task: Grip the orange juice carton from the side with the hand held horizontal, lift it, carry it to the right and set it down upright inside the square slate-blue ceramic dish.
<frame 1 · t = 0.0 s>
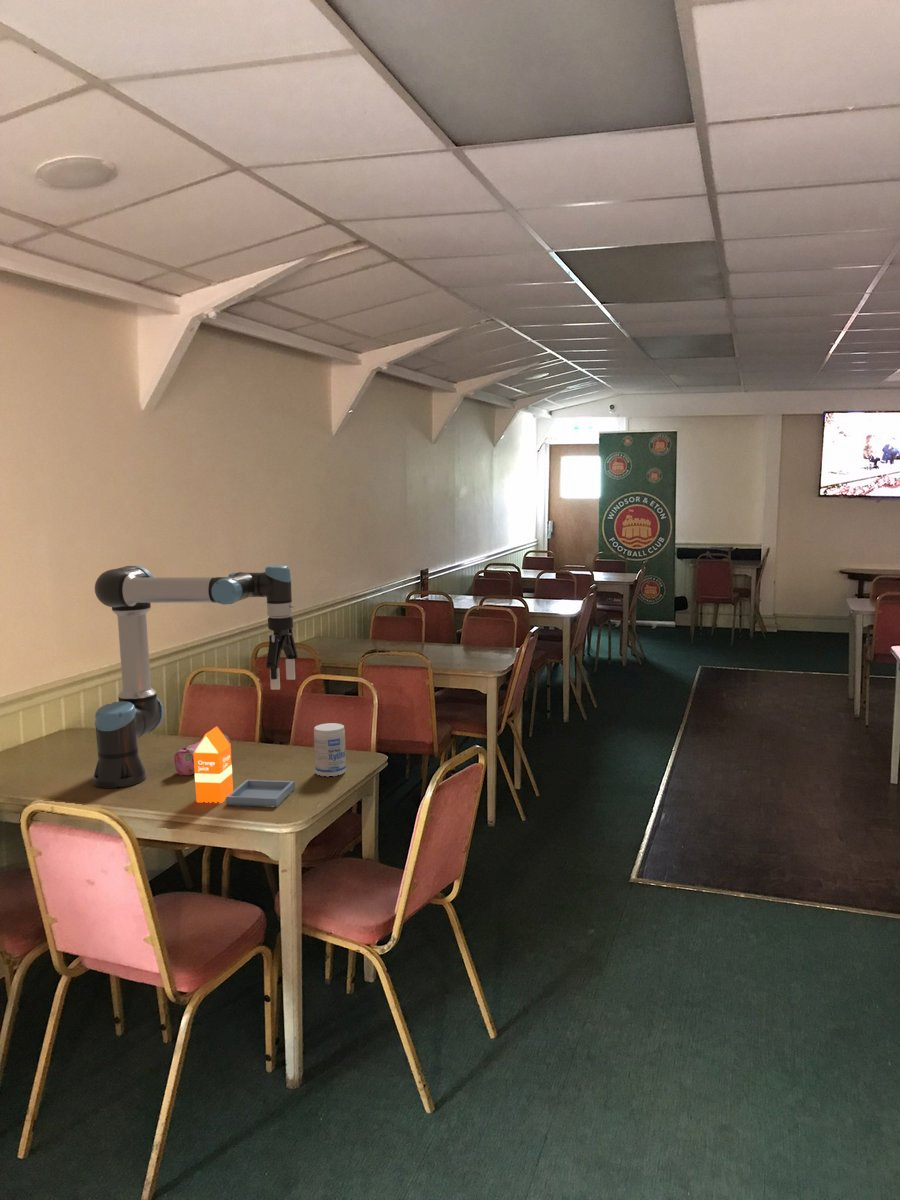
hand: (283, 684, 284), 28 cm above the table, tool pointing down, fingers open, 13 cm apart
orange juice: (215, 798, 266), on the table
supplement tub: (330, 773, 286), on the table
pencil case: (203, 767, 295), on the table
dish: (261, 797, 265), on the table
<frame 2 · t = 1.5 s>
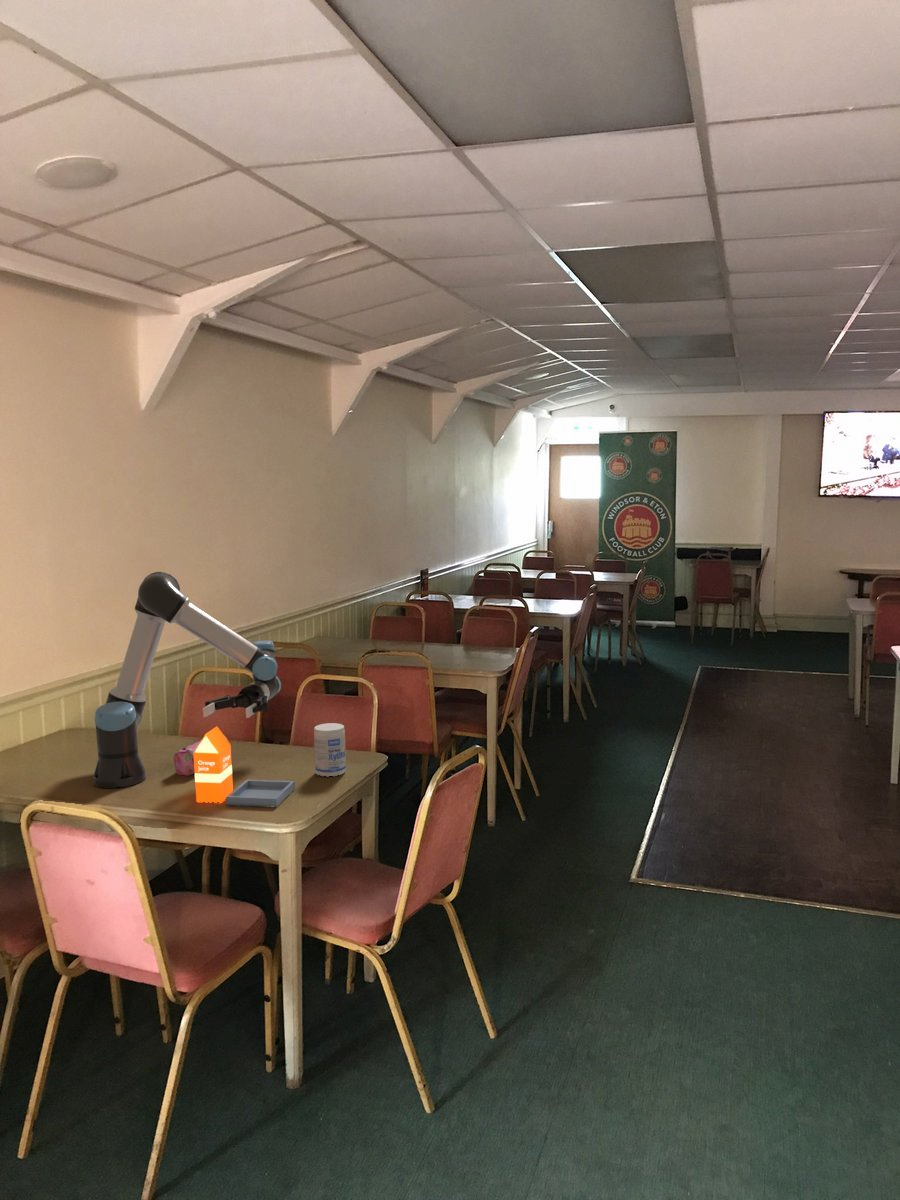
hand: (225, 713, 273), 22 cm above the table, tool horizontal, fingers open, 13 cm apart
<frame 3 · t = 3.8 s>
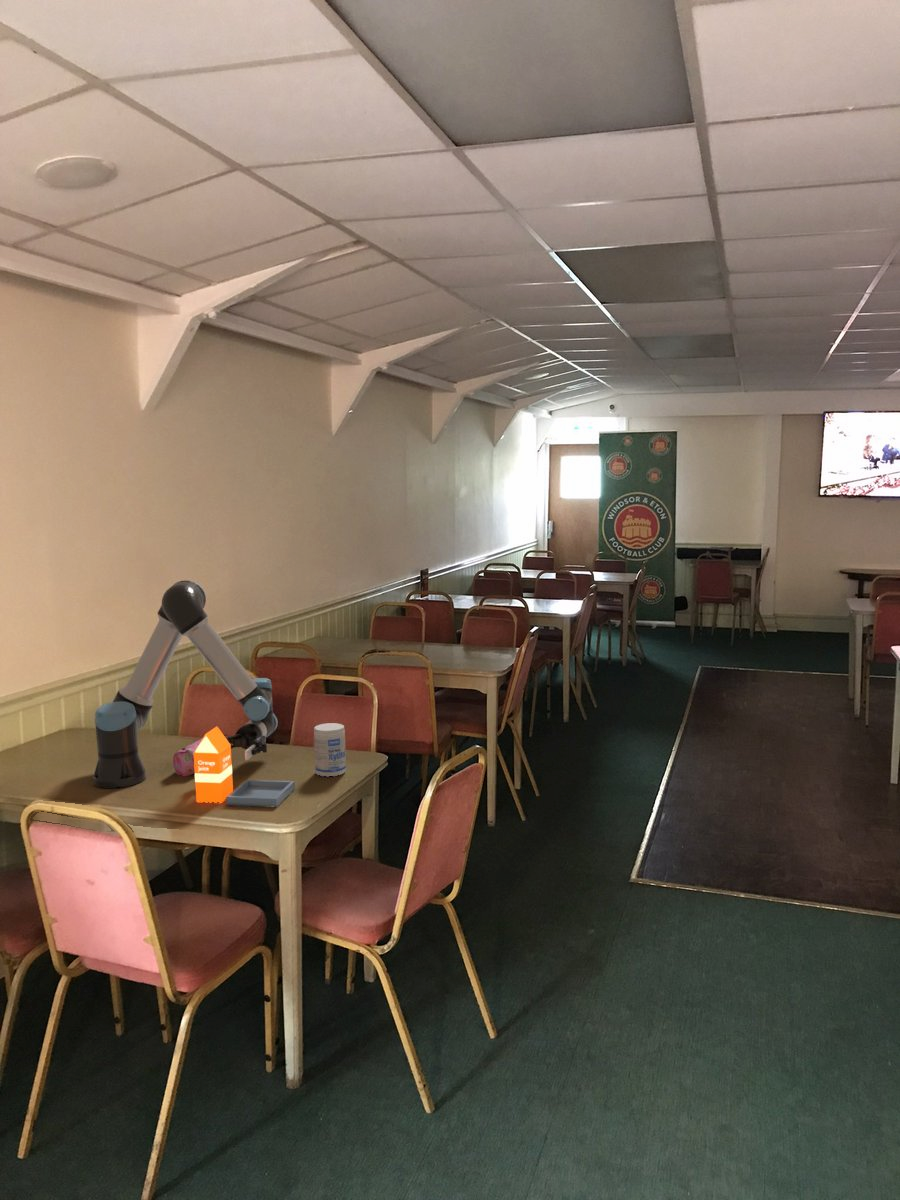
hand: (223, 755, 270), 11 cm above the table, tool horizontal, fingers open, 13 cm apart
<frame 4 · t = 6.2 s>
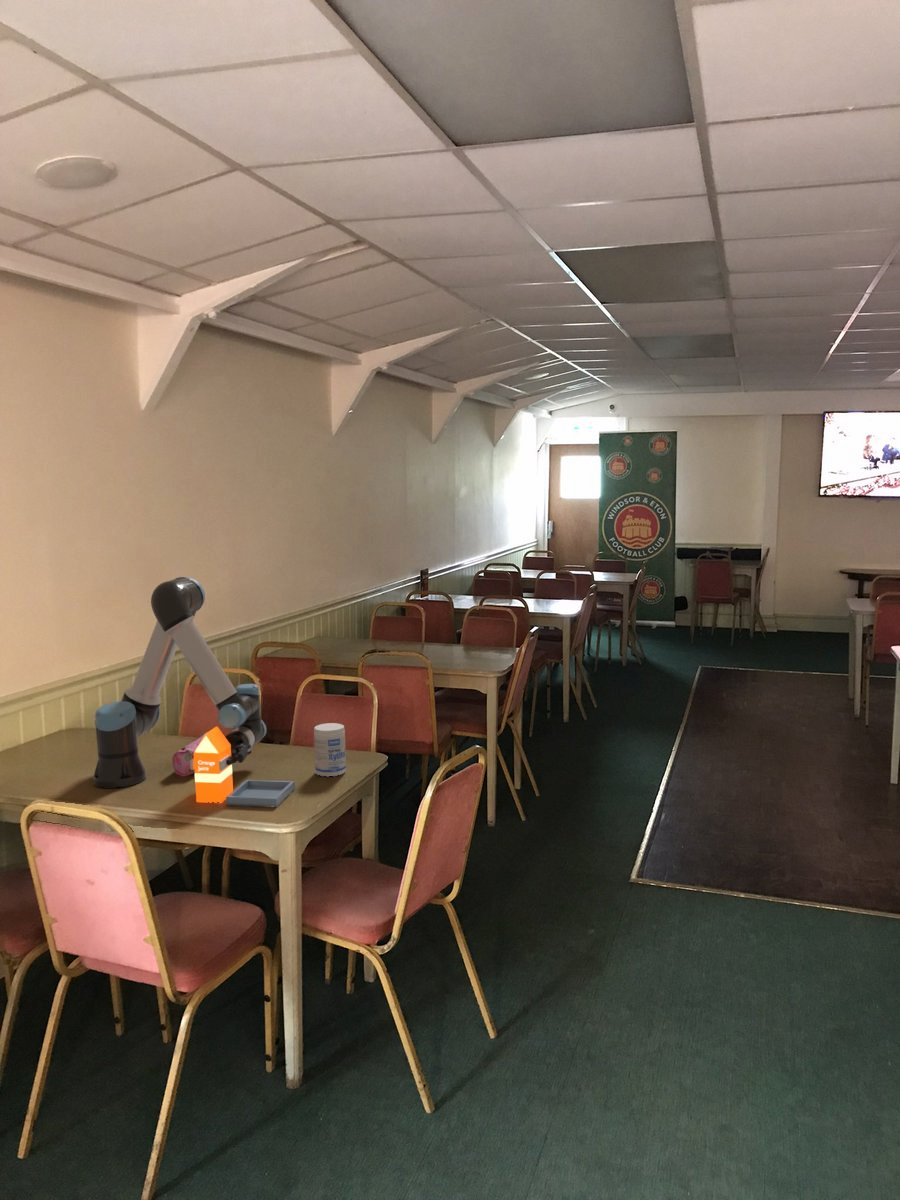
hand: (205, 765, 260), 11 cm above the table, tool horizontal, fingers closed on orange juice, 8 cm apart
orange juice: (215, 798, 266), on the table, touching gripper
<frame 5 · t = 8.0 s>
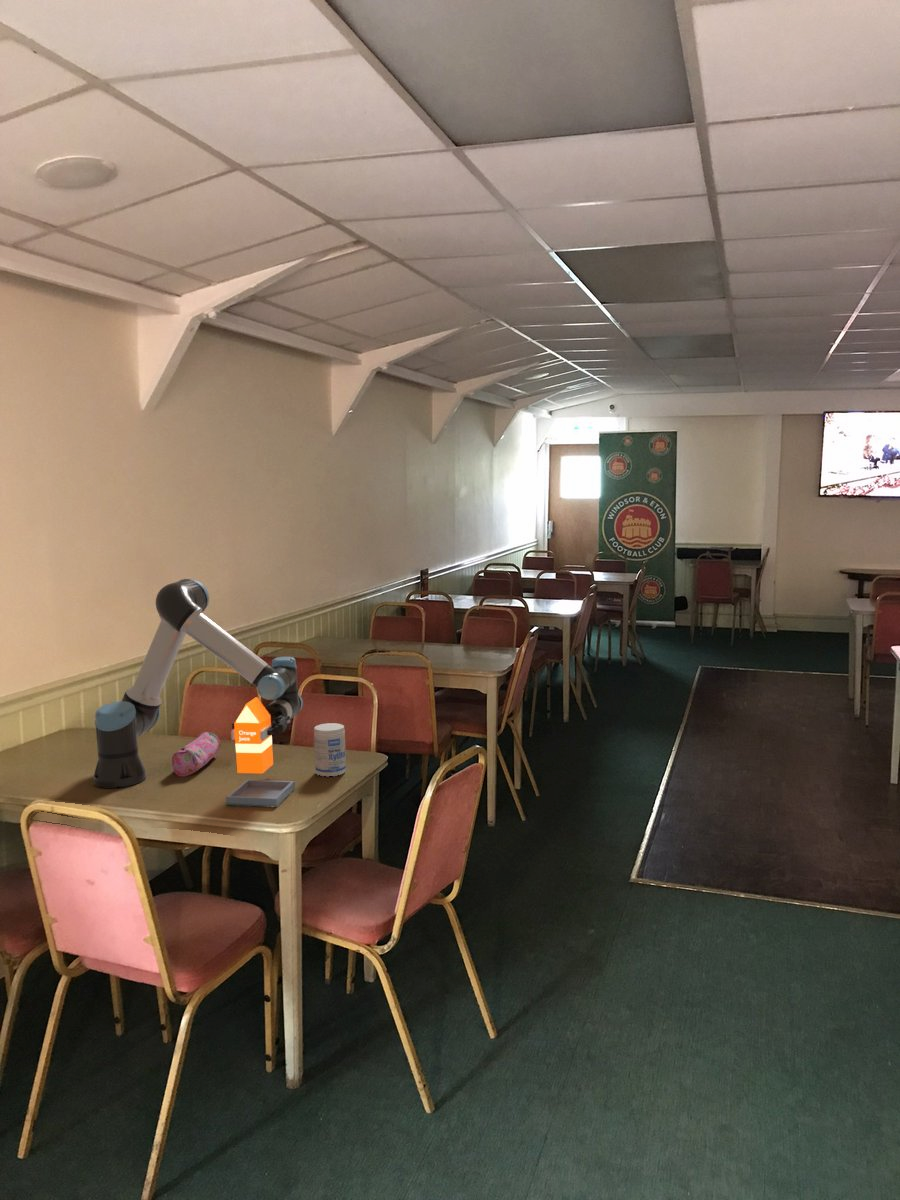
hand: (247, 735, 258), 20 cm above the table, tool horizontal, fingers closed on orange juice, 8 cm apart
orange juice: (255, 769, 264), point 8 cm above the table, touching gripper
when the fingers open (13 cm above the table, at t = 10.0 s): orange juice drops 1 cm, resting on dish.
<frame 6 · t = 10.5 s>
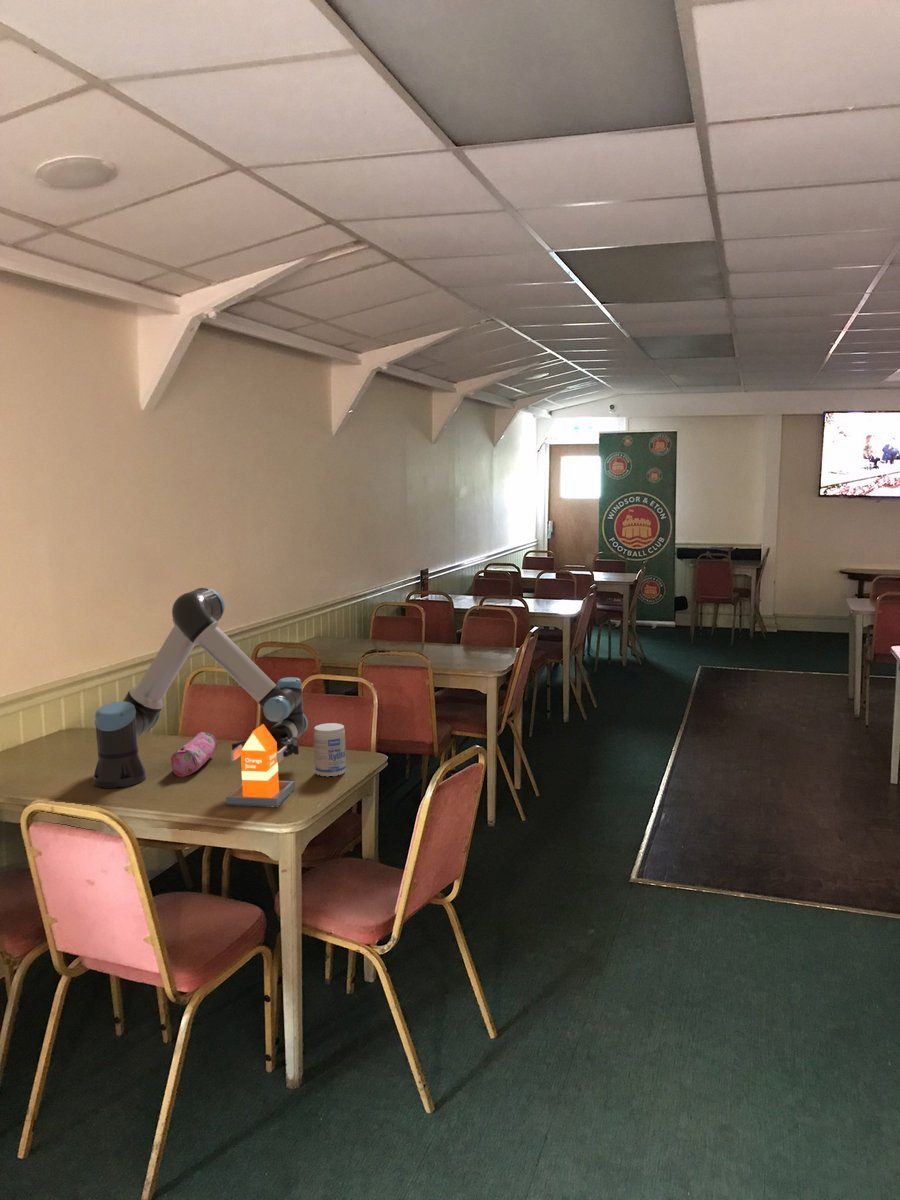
hand: (254, 757, 260), 13 cm above the table, tool horizontal, fingers open, 13 cm apart
orange juice: (261, 795, 265), resting on dish
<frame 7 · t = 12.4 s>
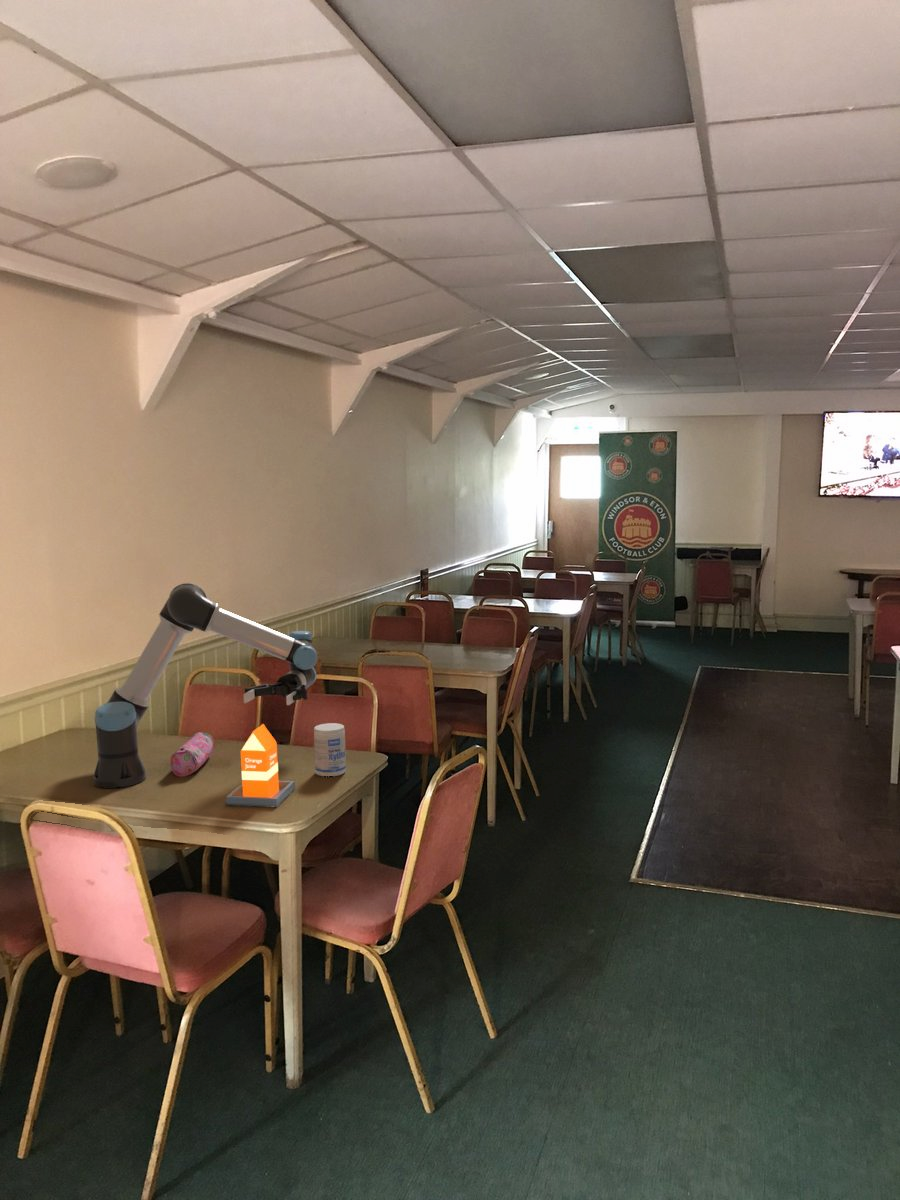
hand: (266, 699, 276), 25 cm above the table, tool horizontal, fingers open, 13 cm apart
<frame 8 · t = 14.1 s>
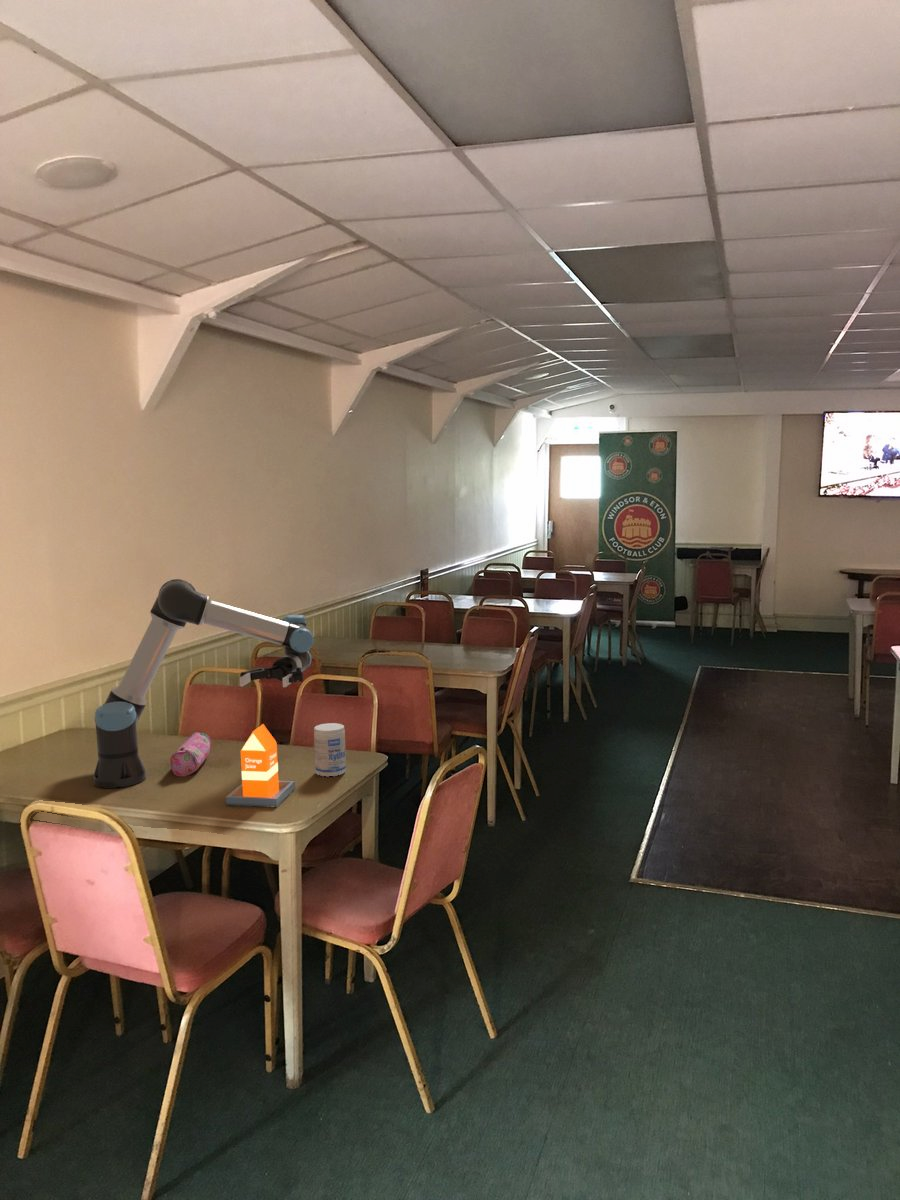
hand: (262, 682, 278), 30 cm above the table, tool horizontal, fingers open, 13 cm apart
at the end: orange juice inside the target area on the dish (0.0 cm from its centre), point 0.4 cm above the dish's base; orange juice tilted 0°; the gripper is holding nothing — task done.
